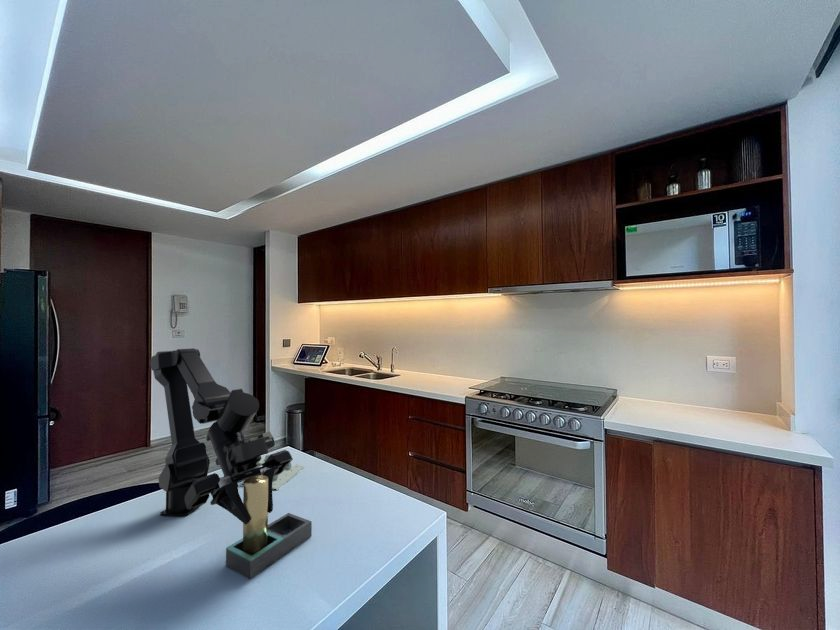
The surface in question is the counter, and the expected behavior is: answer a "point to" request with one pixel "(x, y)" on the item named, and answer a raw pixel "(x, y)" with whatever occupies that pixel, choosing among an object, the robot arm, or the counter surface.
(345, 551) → the counter surface
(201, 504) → the robot arm
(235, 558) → the hole rail
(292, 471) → the metal bracket
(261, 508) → the brass post
